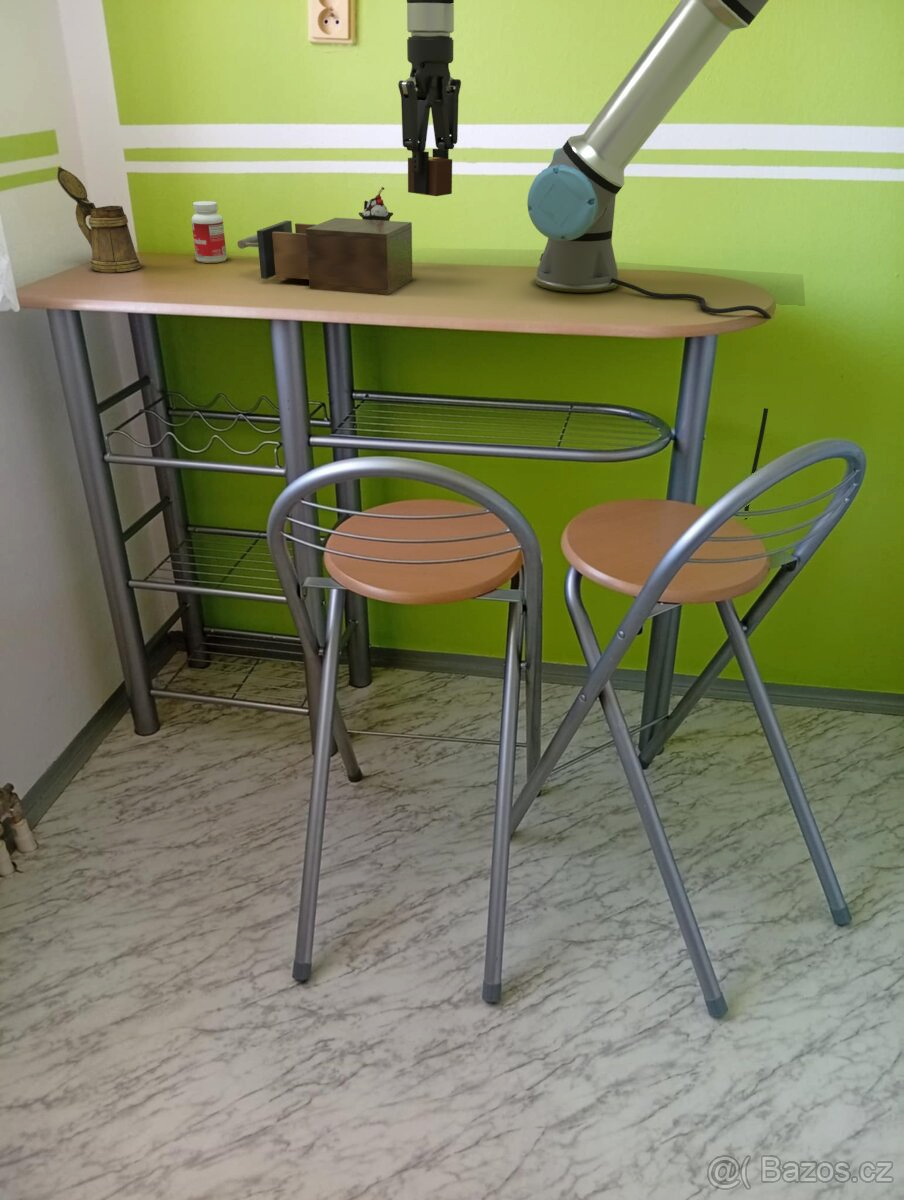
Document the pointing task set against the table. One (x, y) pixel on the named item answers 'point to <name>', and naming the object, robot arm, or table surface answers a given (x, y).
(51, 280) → the table surface
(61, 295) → the table surface
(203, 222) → the pill bottle
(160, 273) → the table surface
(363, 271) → the cabinet
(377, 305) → the table surface
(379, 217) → the sundae
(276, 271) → the drawer
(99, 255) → the wooden mug
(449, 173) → the chocolate
